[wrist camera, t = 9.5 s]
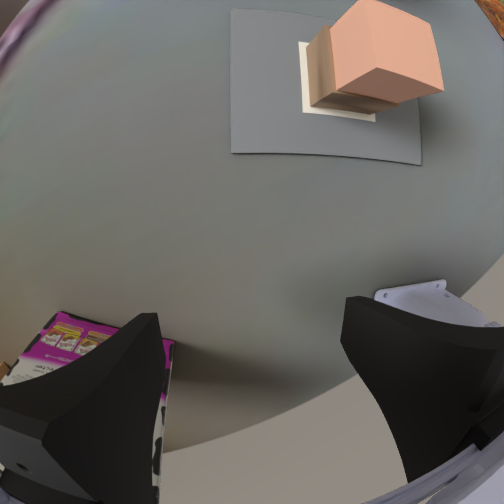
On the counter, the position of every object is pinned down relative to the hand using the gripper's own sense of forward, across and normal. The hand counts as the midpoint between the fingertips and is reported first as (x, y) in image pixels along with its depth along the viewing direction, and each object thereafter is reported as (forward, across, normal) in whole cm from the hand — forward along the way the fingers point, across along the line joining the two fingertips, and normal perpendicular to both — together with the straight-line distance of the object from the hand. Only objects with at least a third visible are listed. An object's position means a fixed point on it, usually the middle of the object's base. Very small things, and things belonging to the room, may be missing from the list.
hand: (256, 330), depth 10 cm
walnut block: (+10, -8, -13) cm, 18 cm away
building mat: (+10, -8, -13) cm, 18 cm away
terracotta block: (+6, -8, -13) cm, 16 cm away
